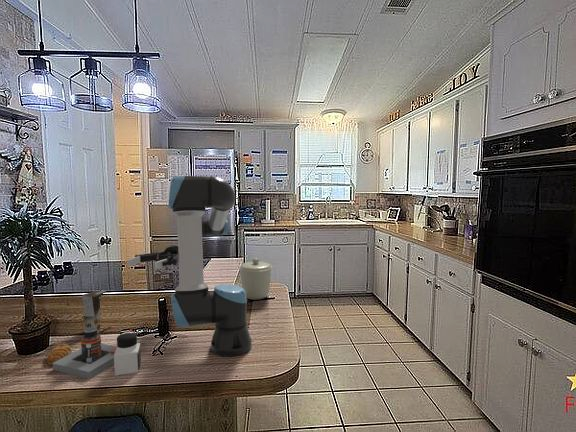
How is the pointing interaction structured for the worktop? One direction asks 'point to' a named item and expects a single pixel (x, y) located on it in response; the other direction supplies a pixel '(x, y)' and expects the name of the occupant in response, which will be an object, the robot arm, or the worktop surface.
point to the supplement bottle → (91, 346)
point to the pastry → (58, 353)
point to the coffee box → (92, 309)
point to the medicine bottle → (127, 354)
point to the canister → (256, 278)
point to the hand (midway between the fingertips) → (141, 264)
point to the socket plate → (78, 368)
